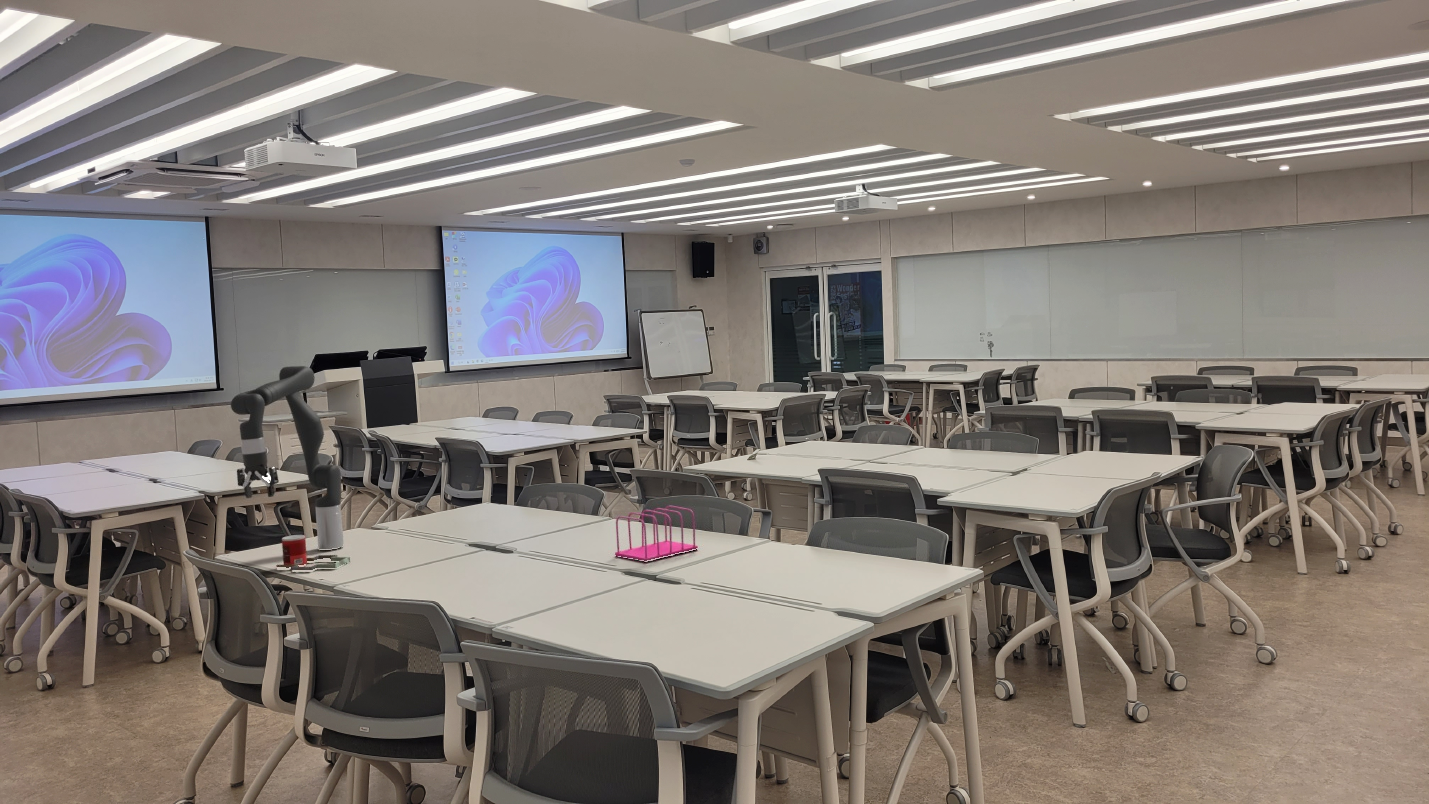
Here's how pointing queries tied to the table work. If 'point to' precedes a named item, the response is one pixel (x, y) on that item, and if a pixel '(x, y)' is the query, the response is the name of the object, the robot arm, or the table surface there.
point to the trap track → (333, 558)
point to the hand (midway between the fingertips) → (260, 497)
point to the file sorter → (656, 548)
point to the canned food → (294, 550)
